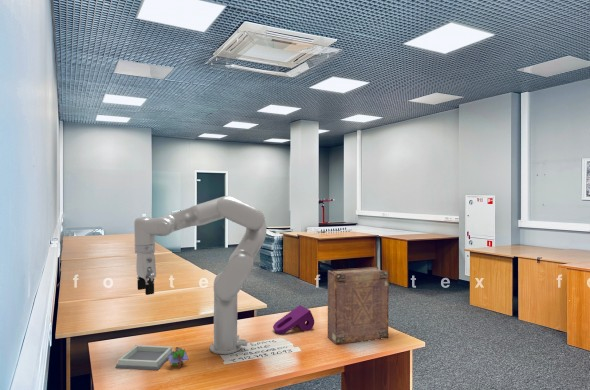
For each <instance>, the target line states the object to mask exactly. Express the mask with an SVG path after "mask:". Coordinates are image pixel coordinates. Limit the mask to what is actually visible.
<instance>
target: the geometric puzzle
mask: <svg viewBox="0 0 590 390" xmlns="http://www.w3.org/2000/svg"><path fill="white" fill-rule="evenodd" d="M173 351H174V352H172V353H173V355H169V356H168V358H169V359H168V360H169V363H170V365H171V367H176V366H178V368H182V365H183V364H186V362H188V361H189V360H190V359H189V356H188V354H187V352H186V349H185V348H184V349H183V348H182V347H178V346H176V347H175V349H173Z"/></svg>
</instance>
